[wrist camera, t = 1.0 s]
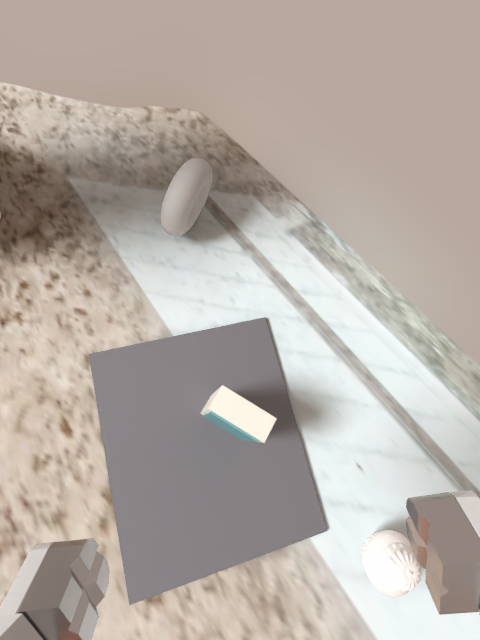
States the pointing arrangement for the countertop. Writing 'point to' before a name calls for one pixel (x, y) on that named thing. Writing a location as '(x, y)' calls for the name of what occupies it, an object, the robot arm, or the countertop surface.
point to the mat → (199, 457)
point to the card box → (238, 416)
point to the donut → (186, 196)
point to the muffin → (390, 563)
